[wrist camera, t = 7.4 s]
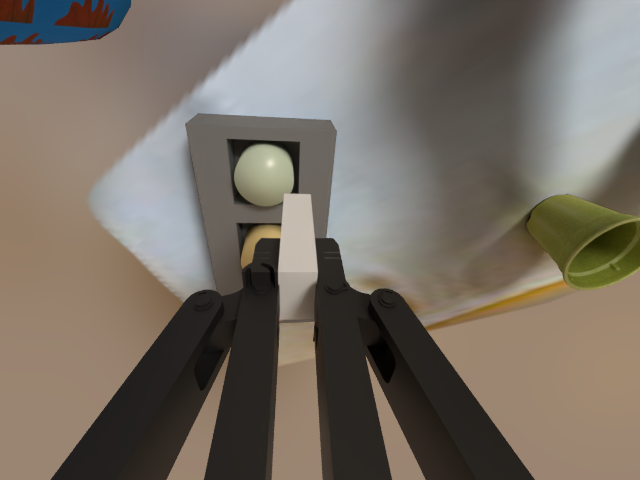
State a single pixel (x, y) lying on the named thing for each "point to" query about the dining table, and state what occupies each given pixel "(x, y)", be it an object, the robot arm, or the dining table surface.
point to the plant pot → (587, 241)
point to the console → (225, 200)
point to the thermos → (59, 20)
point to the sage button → (264, 172)
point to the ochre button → (255, 235)
